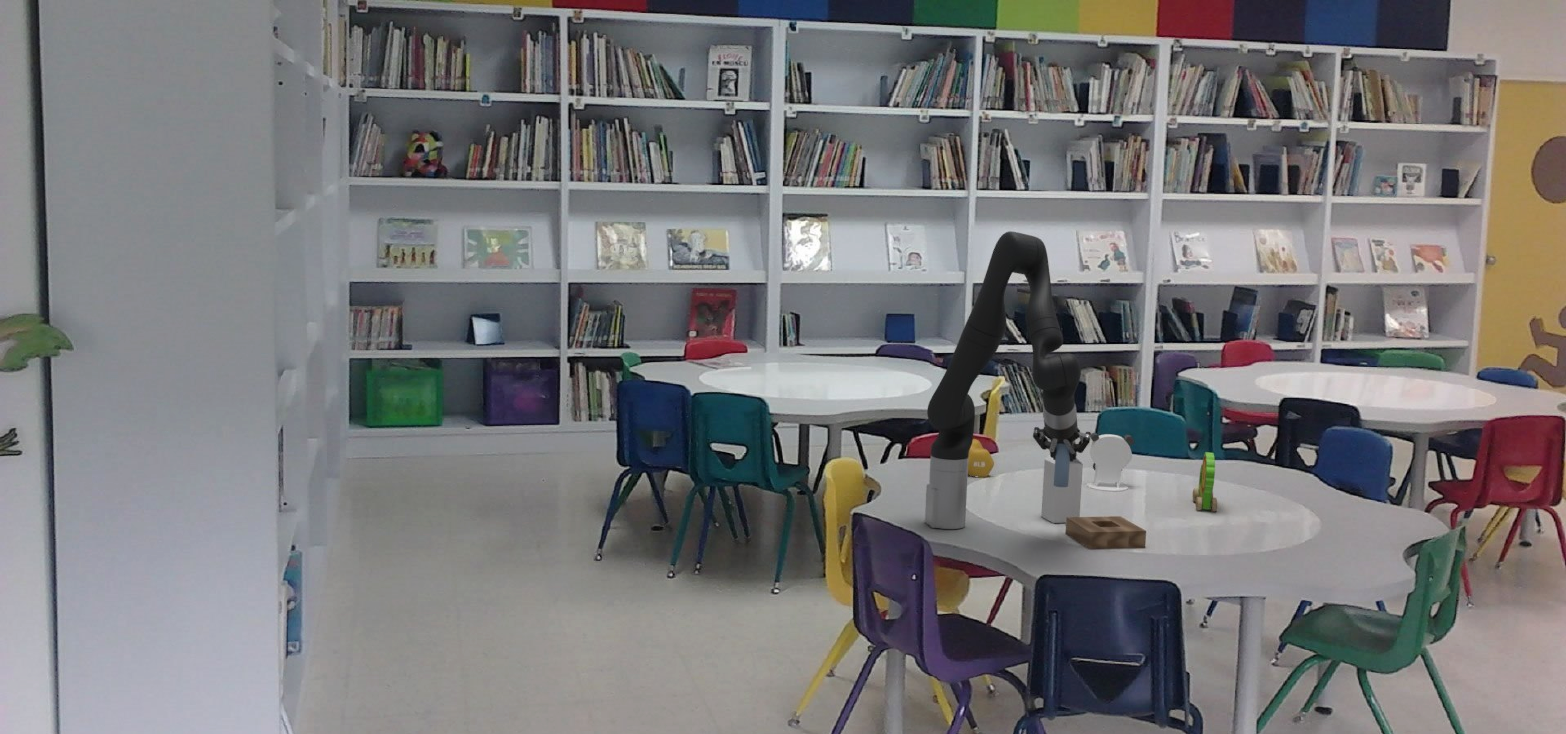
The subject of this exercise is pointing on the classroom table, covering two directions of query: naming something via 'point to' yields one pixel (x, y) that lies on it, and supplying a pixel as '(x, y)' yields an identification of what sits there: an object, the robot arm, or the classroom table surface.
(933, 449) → the robot arm
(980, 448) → the dumbbell
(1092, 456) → the panda figurine
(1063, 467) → the peg
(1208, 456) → the toy lion
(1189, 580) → the classroom table surface
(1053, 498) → the milk carton
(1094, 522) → the socket
